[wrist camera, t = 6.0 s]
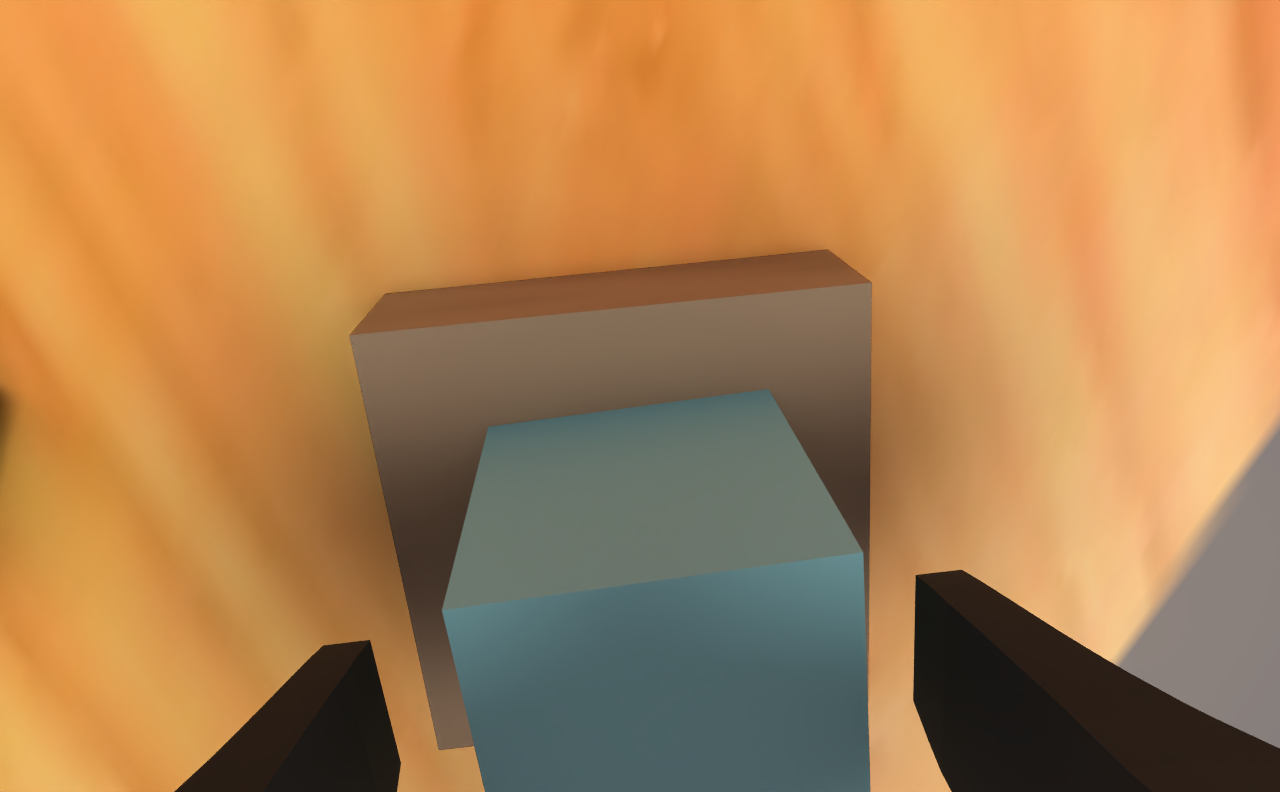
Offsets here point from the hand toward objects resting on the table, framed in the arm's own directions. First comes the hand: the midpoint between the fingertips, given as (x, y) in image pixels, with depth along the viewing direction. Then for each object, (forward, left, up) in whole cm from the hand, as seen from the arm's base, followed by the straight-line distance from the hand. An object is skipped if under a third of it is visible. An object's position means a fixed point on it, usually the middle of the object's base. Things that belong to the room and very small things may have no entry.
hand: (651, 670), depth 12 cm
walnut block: (0, 0, -6) cm, 6 cm away
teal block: (0, 0, -3) cm, 4 cm away
